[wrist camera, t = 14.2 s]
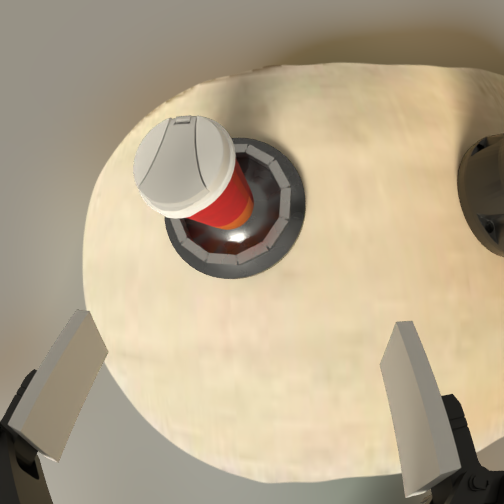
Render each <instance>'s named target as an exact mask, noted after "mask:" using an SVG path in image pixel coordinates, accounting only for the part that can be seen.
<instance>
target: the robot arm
mask: <svg viewBox="0 0 504 504" xmlns="http://www.w3.org/2000/svg"><path fill="white" fill-rule="evenodd" d="M458 192H459V199H460V203H461V207H462V210H463V213H464V216H465V218H466V221H467V223H468V225H469V227H470V228H471V230H472V232H473V233H474V235H475V236H476V238H477V239H478V240H479V241H480V242H481V243H482V244H483V245H484V246H485V247H486V248H487V249H488V250H490V251H491V252H493V253H494V254H496V255H499V256H502V257H504V134H498V135H493V136H488V137H485V138H483V139H481V140H479V141H478V142H477V143H476V144H474V145H473V146H472V147H471V148H470V149H469V150H468V151H467V152H466V154H465V155H464V157H463V159H462V161H461V164H460V168H459V174H458ZM107 354H108V350H107V348H106V346H105V344H104V342H103V339H102V337H101V335H100V333H99V331H98V329H97V327H96V325H95V322H94V320H93V318H92V316H91V313H90V311H85V310H76V311H75V313H74V314H73V316H72V317H71V319H70V320H69V322H68V323H67V325H66V326H65V328H64V329H63V331H62V332H61V334H60V335H59V337H58V338H57V340H56V341H55V343H54V345H53V346H52V347H51V349H50V351H49V352H48V354H47V355H46V357H45V359H44V360H43V362H42V364H41V365H40V367H39V368H38V370H35V369H34V370H33V371H31V372H30V373H29V374H28V375H27V376H26V377H25V379H24V381H23V382H22V384H21V387H20V388H19V389H18V391H17V395H15V396H14V398H13V400H12V402H11V404H10V406H9V407H8V409H7V411H6V413H5V415H4V417H3V419H2V420H1V421H0V504H53V502H52V499H51V496H50V493H49V490H48V487H47V484H46V481H45V477H44V474H43V470H42V467H41V463H40V459H39V457H38V455H37V452H38V451H39V452H40V453H41V454H42V455H44V456H45V457H47V458H49V459H51V460H53V461H55V462H57V463H59V460H60V458H61V455H62V453H63V450H64V448H65V445H66V443H67V441H68V438H69V436H70V433H71V431H72V429H73V426H74V424H75V422H76V420H77V417H78V415H79V413H80V410H81V408H82V406H83V404H84V402H85V400H86V397H87V395H88V393H89V391H90V389H91V387H92V385H93V382H94V380H95V378H96V376H97V374H98V372H99V370H100V368H101V366H102V364H103V362H104V360H105V358H106V356H107ZM380 368H381V372H382V376H383V380H384V384H385V388H386V392H387V397H388V401H389V406H390V410H391V415H392V420H393V425H394V430H395V435H396V440H397V446H398V451H399V457H400V463H401V470H402V475H403V483H404V490H405V497H410V496H414V495H418V494H422V493H425V492H426V491H428V490H429V489H431V492H432V494H431V495H429V496H427V497H425V498H424V499H423V500H422V501H421V503H424V502H426V501H427V502H426V504H504V471H489V470H487V469H486V468H485V467H482V466H481V464H480V463H479V461H478V458H477V455H476V451H475V448H474V444H473V441H472V437H471V434H470V431H469V428H468V427H467V425H468V424H467V421H466V418H464V416H465V415H464V412H463V409H462V406H461V404H460V402H459V401H458V400H457V399H456V397H455V396H454V395H453V394H450V395H445V396H441V395H440V392H439V389H438V386H437V383H436V380H435V377H434V374H433V372H432V369H431V366H430V364H429V361H428V358H427V356H426V353H425V351H424V348H423V346H422V343H421V341H420V338H419V336H418V333H417V331H416V328H415V326H414V324H413V321H403V322H396V323H395V326H394V329H393V332H392V334H391V337H390V340H389V342H388V345H387V348H386V350H385V353H384V355H383V358H382V360H381V363H380Z"/></svg>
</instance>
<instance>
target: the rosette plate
mask: <svg viewBox="0 0 504 504" xmlns="http://www.w3.org/2000/svg"><path fill="white" fill-rule="evenodd" d="M231 139H232V141H233V144H234V147H235V154H236V159H237V161H238V163H239V165H240V168H241V170H242V172H243V174H244V176H245V178H246V180H247V183H248V185H249V187H250V189H251V192H252V195H253V199H254V207H253V211H252V214H251V216H250V218H249V219H248V220H247V221H246V222H245V223H244V224H243V225H241V226H240V227H238V228H235V229H230V230H225V229H219V228H216V227H212V226H209V225H206V224H203V223H200V222H197V221H195V220H192V219H189V218H176V219H174V218H167V217H165V224H166V230H167V233H168V236H169V239H170V241H171V243H172V245H173V247H174V248H175V250H176V251H177V253H178V254H179V255H180V256H181V258H182V259H183V260H184V261H185V262H187V263H188V264H189V265H190V266H192V267H193V268H195V269H196V270H198V271H200V272H202V273H204V274H206V275H210V276H213V277H217V278H223V279H240V278H247V277H251V276H255V275H257V274H260V273H262V272H265V271H266V270H268V269H270V268H272V267H273V266H274V265H276V264H277V263H278V262H280V261H281V260H282V259H283V258H284V257H285V256H286V255H287V254H288V253H289V251H290V250H291V249H292V247H293V246H294V244H295V243H296V241H297V239H298V237H299V235H300V232H301V230H302V227H303V223H304V219H305V211H306V206H305V194H304V188H303V185H302V181H301V179H300V176H299V174H298V172H297V170H296V169H295V167H294V166H293V164H292V163H291V162H290V161H289V160H288V158H287V157H286V156H285V155H283V154H282V153H281V152H280V151H279V150H277V149H275V148H274V147H272V146H270V145H268V144H266V143H264V142H261V141H258V140H254V139H248V138H231Z"/></svg>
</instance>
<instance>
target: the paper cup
mask: <svg viewBox="0 0 504 504" xmlns="http://www.w3.org/2000/svg"><path fill="white" fill-rule="evenodd" d="M133 173H134V179H135V182H136V185H137V188H138V190H139V192H140V195H141V196H142V198H143V200H144V201H145V202H146V204H147V205H148V206H149V207H151V208H152V209H153V210H155V211H157V212H158V213H160V214H162V215H163V216H165V217H167V218H174V219H176V218H189V219H192V220H195V221H197V222H200V223H203V224H206V225H209V226H212V227H216V228H219V229H225V230H230V229H235V228H238V227H240V226H241V225H243V224H244V223H245V222H246V221H247V220H248V219H249V218H250V216H251V214H252V211H253V207H254V199H253V195H252V192H251V189H250V187H249V185H248V183H247V180H246V178H245V176H244V174H243V172H242V170H241V168H240V165H239V163H238V161H237V159H236V154H235V147H234V144H233V141H232V139H231V137H230V135H229V133H228V132H227V131H226V130H225V128H224V127H223V126H221V125H220V124H219V123H217V122H215V121H214V120H212V119H209V118H206V117H202V116H179V117H176V118H174V119H172V118H168V119H166V120H164V121H162V122H161V123H159V124H157V125H156V126H155V127H154V128H152V129H151V130H150V131H149V132H148V134H147V135H146V136H145V137H144V139H143V140H142V142H141V143H140V145H139V147H138V150H137V152H136V155H135V159H134V165H133Z"/></svg>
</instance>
